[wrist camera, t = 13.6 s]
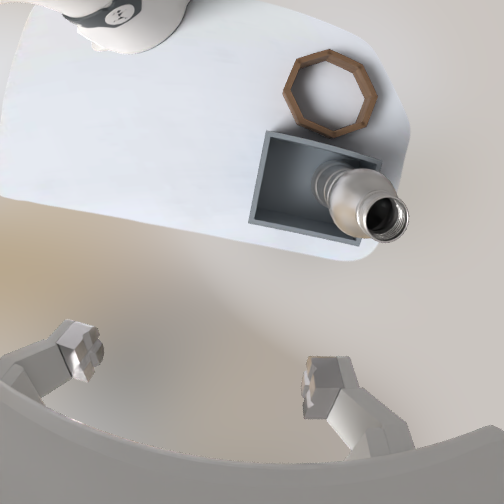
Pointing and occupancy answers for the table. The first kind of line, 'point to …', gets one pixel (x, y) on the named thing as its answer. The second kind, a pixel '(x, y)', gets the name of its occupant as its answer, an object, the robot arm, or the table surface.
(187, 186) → the table surface
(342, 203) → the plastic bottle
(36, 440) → the robot arm
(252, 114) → the table surface
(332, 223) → the bin
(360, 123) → the collar
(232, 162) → the table surface
